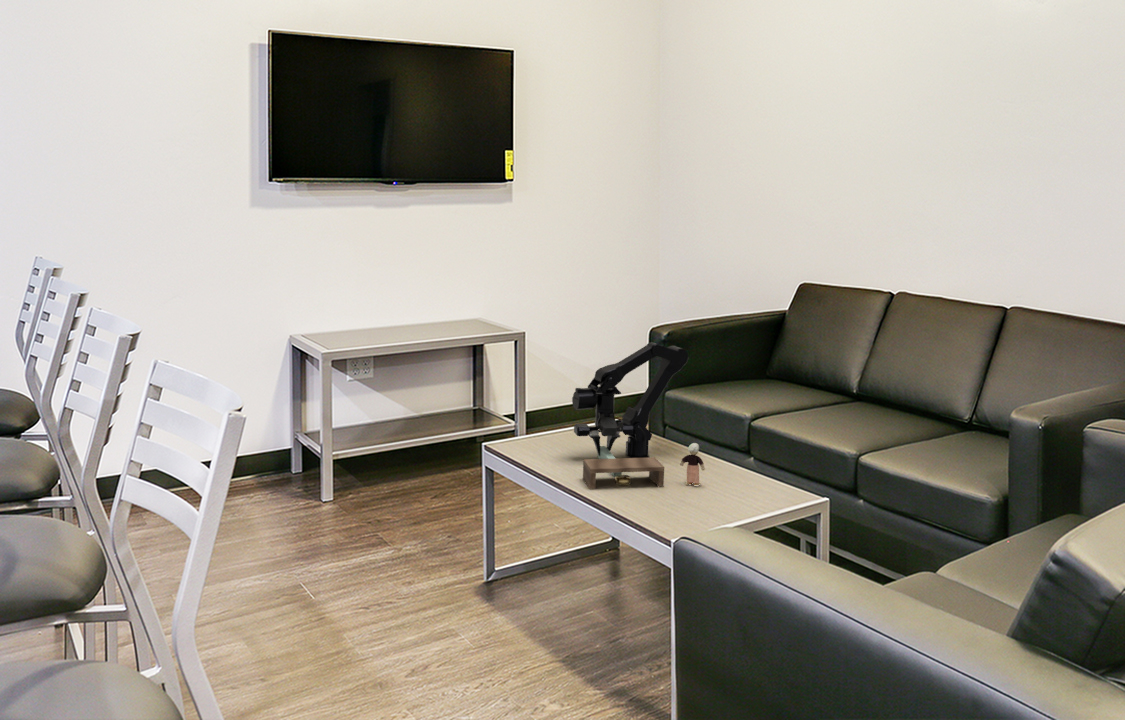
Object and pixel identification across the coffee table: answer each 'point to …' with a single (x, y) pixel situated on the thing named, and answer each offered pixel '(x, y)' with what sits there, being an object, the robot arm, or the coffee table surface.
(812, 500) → the coffee table surface
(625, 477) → the brass disc
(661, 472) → the walnut shelf
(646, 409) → the robot arm
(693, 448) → the grandmother figurine
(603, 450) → the green blade
